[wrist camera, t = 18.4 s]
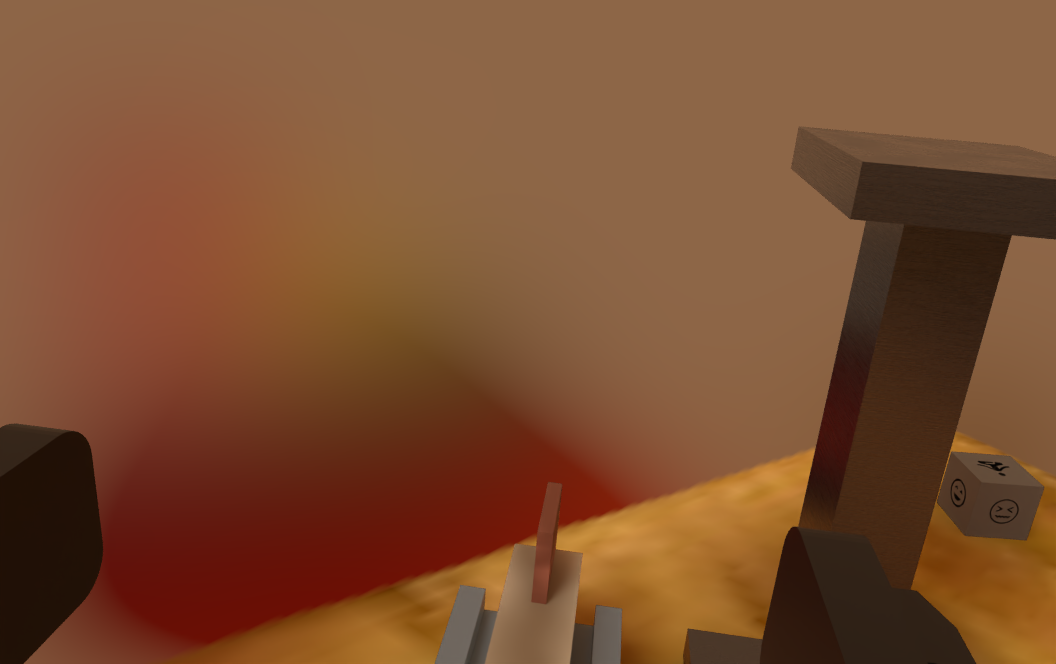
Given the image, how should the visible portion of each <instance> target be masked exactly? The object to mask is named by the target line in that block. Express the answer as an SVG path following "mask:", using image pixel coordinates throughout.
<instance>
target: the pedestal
mask: <svg viewBox="0 0 1056 664" xmlns="http://www.w3.org/2000/svg"><path fill="white" fill-rule="evenodd" d="M791 169H792V170H793V171H795V172H796V173H797V174H798V175H799V176H800V177H801V178H803V179H804V180H805V181H806V182H807V183H808V184H810V185H811V186H812V187H813V188H814V189H816V190H817V191H818V192H819V193H820V194H821V195H823V196H824V197H825V198H826V199H827V200H828V201H830V202H831V203H832V204H833V205H834V206H835V207H837V208H838V209H839V210H840V211H841V212H843V213H844V214H845V215H846V216H847V217H848V218H849V219H854V220H864V221H866V223H865V228H864V233H863V237H862V242H861V247H860V250H859V255H858V260H857V264H856V269H855V273H854V278H853V283H852V287H851V291H850V296H849V300H848V305H847V309H846V314H845V318H844V323H843V327H842V332H841V336H840V341H839V345H838V350H837V354H836V359H835V363H834V368H833V372H832V377H831V381H830V386H829V390H828V395H827V399H826V404H825V408H824V413H823V418H822V422H821V426H820V431H819V436H818V440H817V444H816V449H815V453H814V458H813V462H812V467H811V471H810V476H809V480H808V485H807V489H806V494H805V498H804V503H803V507H802V512H801V517H800V521H799V526H798V527H802V528H810V529H818V530H825V531H833V532H841V533H849V534H856V535H863V536H865V537H867V538H868V540H869V541H870V543H871V545H872V547H873V549H874V551H875V553H876V555H877V557H878V559H879V562H880V564H881V566H882V568H883V570H884V572H885V574H886V576H887V578H888V581H889V583H890V585H891V587H892V588H899V589H906V590H910V589H911V586H912V582H913V579H914V575H915V572H916V568H917V565H918V561H919V558H920V554H921V551H922V547H923V544H924V540H925V537H926V533H927V530H928V526H929V523H930V519H931V516H932V512H933V509H934V505H935V502H936V498H937V495H938V491H939V488H940V484H941V481H942V477H943V474H944V470H945V467H946V463H947V460H948V456H949V453H950V449H951V446H952V442H953V439H954V435H955V432H956V428H957V425H958V421H959V418H960V414H961V411H962V407H963V404H964V400H965V397H966V393H967V389H968V386H969V383H970V380H971V376H972V373H973V369H974V366H975V362H976V358H977V355H978V351H979V348H980V345H981V341H982V337H983V334H984V330H985V327H986V323H987V320H988V316H989V313H990V309H991V306H992V303H993V299H994V296H995V292H996V289H997V285H998V282H999V278H1000V275H1001V271H1002V267H1003V264H1004V260H1005V257H1006V253H1007V250H1008V247H1009V243H1010V240H1011V236H1012V235H1016V236H1026V237H1036V238H1046V239H1056V157H1054V156H1050V155H1047V154H1044V153H1040V152H1036V151H1033V150H1029V149H1026V148H1022V147H1019V146H1011V145H999V144H988V143H977V142H966V141H955V140H943V139H932V138H920V137H910V136H898V135H887V134H876V133H865V132H854V131H842V130H831V129H820V128H809V127H799V129H798V134H797V139H796V145H795V151H794V155H793V162H792V166H791ZM761 646H762V639H755V638H748V637H741V636H734V635H728V634H721V633H714V632H707V631H701V630H694V629H688V631H687V636H686V642H685V648H684V653H683V659H684V664H760V654H761Z"/></svg>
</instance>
